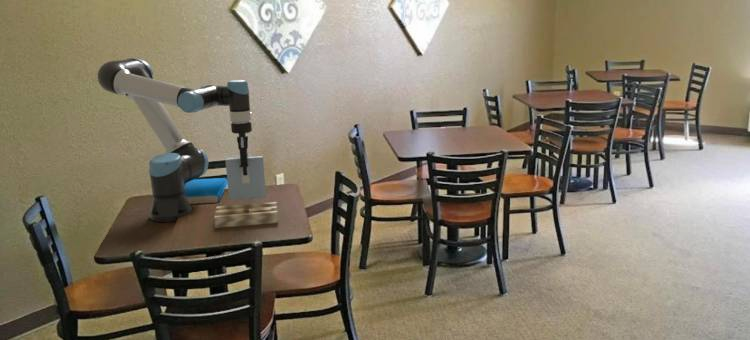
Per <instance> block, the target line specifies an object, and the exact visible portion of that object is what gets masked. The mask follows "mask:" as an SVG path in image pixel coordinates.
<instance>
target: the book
mask: <svg viewBox="0 0 750 340" xmlns="http://www.w3.org/2000/svg"><path fill="white" fill-rule="evenodd" d="M227 187H228V182H227V177H217V178H216V177H215V178H197V179H194V180H192V181H189V182H187V183H185V184H184V189H185V195H186V198H187V200H188V202H189V204H190V205H195V204H196V205H197V204H198V203H199V204H214V203H219V202H220V200H221V198H222V196H223V194H224V192H225V190H226V189H227Z"/></svg>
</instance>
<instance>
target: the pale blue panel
mask: <svg viewBox="0 0 750 340" xmlns="http://www.w3.org/2000/svg"><path fill="white" fill-rule="evenodd" d="M224 161H225V168H226V169H225V170H226V179H227V182H228V184H227V191H228V200H229V201H235V200H248V199H261V198H266V197H267V192H266V181H265V180H266V178H265V168H264V167H265V164H264V156H263V155H257V156H248V157H247V161H248V167H249V179H250V183H242V172H241V167H239V166H240V165H241V160H240V157H228V158H225V160H224Z"/></svg>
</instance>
